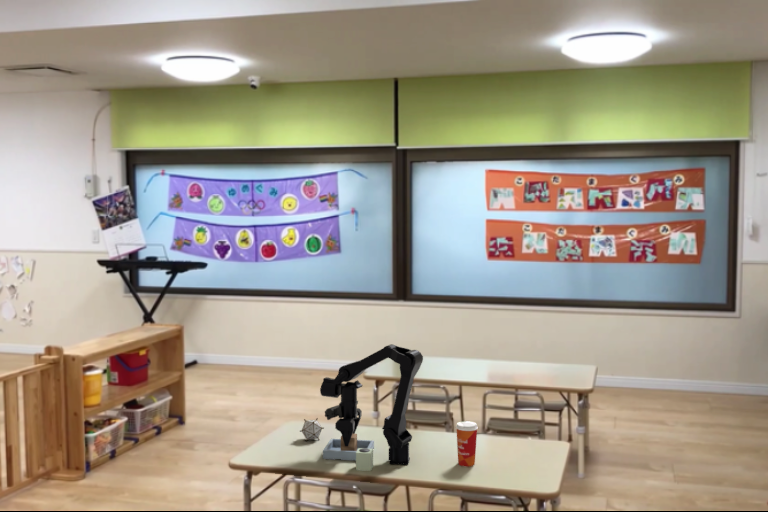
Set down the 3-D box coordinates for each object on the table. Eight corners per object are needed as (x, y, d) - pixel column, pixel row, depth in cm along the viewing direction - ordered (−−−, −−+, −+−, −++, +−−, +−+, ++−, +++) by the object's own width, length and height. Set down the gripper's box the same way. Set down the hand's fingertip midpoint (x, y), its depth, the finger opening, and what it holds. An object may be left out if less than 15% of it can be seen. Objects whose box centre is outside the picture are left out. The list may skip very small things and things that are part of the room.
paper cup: (451, 462, 263) (451, 422, 262) (470, 459, 266) (470, 419, 265) (462, 469, 256) (462, 428, 255) (482, 466, 259) (482, 425, 258)
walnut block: (357, 450, 274) (357, 433, 273) (354, 454, 269) (354, 437, 268) (343, 449, 274) (343, 432, 274) (340, 453, 269) (340, 436, 269)
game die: (315, 450, 286) (318, 434, 280) (294, 441, 288) (298, 425, 282) (324, 433, 293) (328, 417, 287) (305, 424, 295) (308, 408, 288)
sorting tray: (374, 448, 277) (374, 440, 277) (367, 461, 263) (367, 452, 263) (331, 446, 279) (331, 438, 279) (322, 458, 266) (322, 450, 265)
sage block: (373, 466, 259) (373, 448, 258) (370, 471, 254) (370, 452, 253) (358, 465, 259) (358, 447, 259) (355, 470, 254) (355, 452, 254)
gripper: (332, 392, 281) (332, 433, 282) (320, 404, 262) (321, 449, 263) (361, 393, 279) (361, 435, 280) (352, 406, 261) (352, 450, 262)
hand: (348, 442), depth 271 cm, fingers open, 9 cm apart
